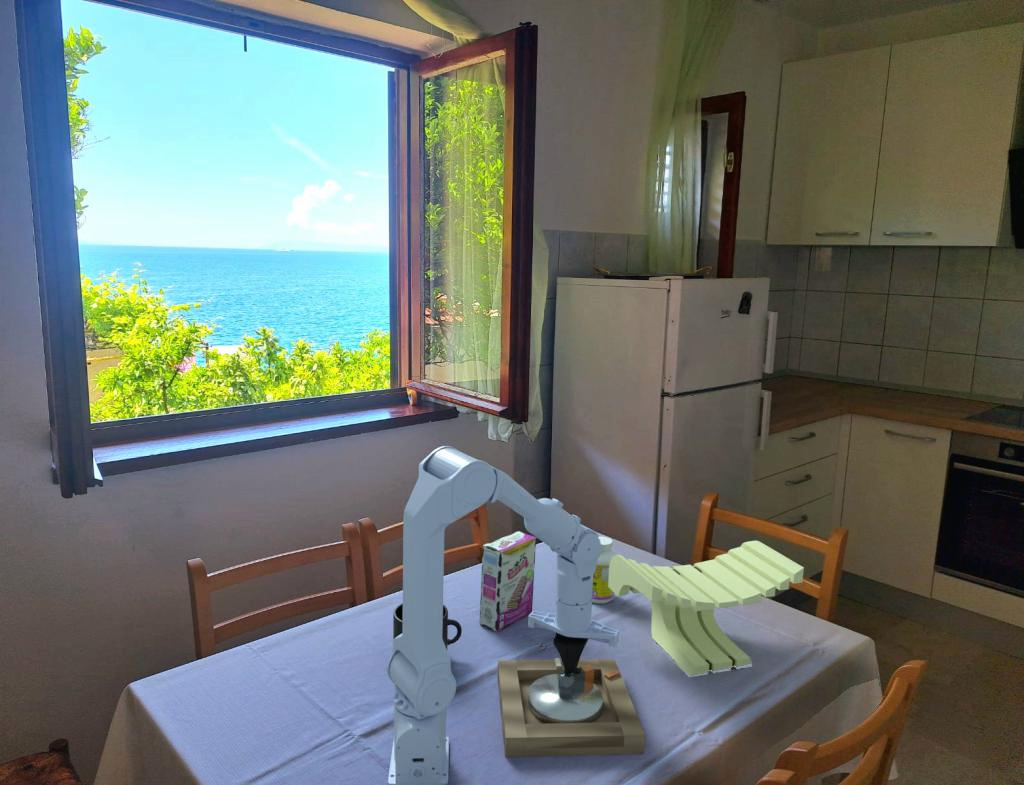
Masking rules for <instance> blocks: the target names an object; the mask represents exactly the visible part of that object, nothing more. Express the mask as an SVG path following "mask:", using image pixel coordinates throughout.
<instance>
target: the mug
mask: <svg viewBox="0 0 1024 785" xmlns="http://www.w3.org/2000/svg"><path fill="white" fill-rule="evenodd" d="M392 616H393V621H392V622H393V623H392V624H393V629H392V630H393V634H392V635H393V636H392V639H393V640H394V639H395V638H396V637H397V636H399V635H400V634H402V629H403V602H402V603H401V604H399V605H397V606H396V607H395V609H394V610H393V615H392ZM449 626H453V627H455V628H456V634H455V636H454V637H453V638H449V637H448V636H449V634H448V631H449V629H448V628H449ZM462 632H463V629H462V625H461V624H460V622H458V621H457V620H456V619H450V618H449V611H448V607H447V606H446V605H445V604H443V630H442V638H443V642H444V644H445V647H446V649H447V650H448V646H450V645H452V644H454V643H457V642H458V641H459V640H460V638H461V636H462ZM393 640H392V641H393Z"/></svg>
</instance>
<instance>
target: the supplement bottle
mask: <svg viewBox="0 0 1024 785" xmlns="http://www.w3.org/2000/svg"><path fill="white" fill-rule="evenodd" d="M598 536H599V535H598ZM598 538H599V539H600V543H601V544H603V549H602V553H601V555H600V557H599V559H598V560H597V563H596V571H595V572H594V574H593V591H592V604H599V605H600V604H602V605H603V604H607V603H610V602H612V601H613V600H614V598H615V593H614V592H613V591H612V590H611V589H610V588H609V587H608V579H609V565H610V561H611V558H612V557H613V556H614V555H617V554H616V553H615V552H614V551H613V550H612V549H613V547H614V546H613V545H614V544H613V542H614V541H613V539H612V538H610V537H607V536H599V537H598Z"/></svg>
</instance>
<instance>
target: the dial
mask: <svg viewBox="0 0 1024 785" xmlns="http://www.w3.org/2000/svg"><path fill="white" fill-rule="evenodd" d="M602 705H603V695H602V692H601V691H600V689H599V688H598V687H597V686H596V685H595V684H594V668H593V667H592V666H591V665H589V664H588V665H585V666H582V667H579V668H576V669H573V670H570V671H567V670H564V671H561V672H559V674H552V675H547V676H544V677H541V678H539V679H537V680H536V681H535V682H533V683H532V685H531V686H530V688H529V691H528V706H529V709H530V711H531V712H532V713H533V715H534V716H536V717H537V718H538V719H540V720H541V721H543V722H545V723H547V724H553V723H592V722H594V721H595V720H596V719H598V717H599V716H600V715H601V713H602Z"/></svg>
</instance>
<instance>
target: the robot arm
mask: <svg viewBox="0 0 1024 785" xmlns="http://www.w3.org/2000/svg"><path fill="white" fill-rule="evenodd" d="M496 501H499V502H500V503H502V504H503V505H505V506H507V507H508V508H509V509H511V510H513V511H514V512H515V513H517V514H518V515H519V516H522V517H523V523H524V528H525V530H526V531H527V532H528V533H530V535H532V536H534V537H536V539H538V540H540V541H541V542H543V543H544V544H545V545H547V546H548V547H549V548H550V550H551V551H552V553H553V552H555V553H556V554H557V555H556V574H555V575H556V580H555V581H556V582H555V609H554V610H555V611H554V612H542V611H536V610H535V611H534V610H532V612H531V613H530V614H529V615H527V616H528V617H527V619H528V620H527V621H528V622H527V627H528V628H531V629H535V628H536V627H537V628H541V629H545V630H550V631H552V632H555V636H554V638H553V640H552V641H553V642H552V643H553V646H554V647H555V649H556V650H557V653H558V655H559V658H560V660H562V663H563V666H564V670H567V671H570V670H573V669H576V668H577V666H578V662H579V660H580V658H581V656H582V655H583V654H582V653H583V652H584V649H585V647H586V645H587V644H588V642H589V640H593V641H596V642H601V643H605V644H608V646H609V647H611V648H616V646H617V645H618V644H619V638H620V636H619V635H620V630H619V629H616V628H615V629H614V628H612V627H609V626H607V625H605V624H602V623H601V622H598V621H596V620H593V619H592V608H593V607H592V606H593V603H592V591H593V574H594V572H595V571H596V563H597V560H598V559H599V557H600V555H601V553H602V549H603V544H601V543H600V539H599V538H598V537H599V534H598V533H597V532H596V531H595V530H593V529H591V528H589V527H587V526H585V525H583V524H582V523H581V521H582V520H581V518H580V517H579V516H578V515H575V514H570V513H569V512H567V511H566V510H565V509H564V508H563V506H564V503H562V502H561V501H560V500H558V499H556V498H554V497H553V498H552V499H551V498H547V497H543V498H536V497H534V495H532V494H531V493H530V492H528V491H527V490H526V489H525V488H523V486H522V485H520V484H519V483H518V482H517V481H515V479H513V478H512V477H510V475H508V474H507V473H506V472H504V471H503V470H501V469H498V468H496V467H494V466H492V465H490V464H489V463H488V462H486V461H484V460H481V459H477V458H475V457H473V456H470V455H468V454H466V453H464V452H461V451H459V449H458V448H456V447H453V446H452V445H451V446H450V445H443V446H439V447H437V448H435V449H434V450H433V451H432V452H431V453H429V454H428V455H427V456H426V457H425V458H423V460H422V461H421V462H420V463H419V464H418V478H417V480H416V483H415V485H414V486H413V489H412V491H411V493H410V496H409V499H408V500H407V503H406V505H405V508H404V510H403V519H402V520H403V526H402V528H403V530H402V532H403V534H402V537H403V538H402V544H403V545H402V549H403V550H402V556H403V557H402V603H403V629H402V634H400V635H399V636H397V637H396V638H395V639H394V640H392V649H391V654H390V656H389V658H388V661H387V664H386V672H387V677H388V679H389V680H390V681H391V682H392V683H393V684H394V698H393V699H394V700H393V703H394V705H393V708H394V710H393V712H394V714H393V721H394V722H393V727H394V728H393V733H394V734H393V740H392V741H393V742H392V748H391V755H390V762H389V771H388V775H387V776H388V778H387V785H448V783H449V763H450V762H449V758H450V756H449V755H450V754H449V752H450V750H449V749H450V746H449V745H450V738H449V736H447V714H448V713H447V712H448V711H447V710H448V707H449V706H450V704H451V703H452V701H453V700H454V697H455V696H456V695H455V694H456V691H457V681H456V678H455V676H454V674H453V673H452V667H451V666H452V664H451V663H452V662H451V658H450V653H449V651H448V648H447V649H446V647H445V644H444V642H443V638H442V630H443V605H444V576H445V575H444V572H445V570H444V568H445V566H444V565H445V529H446V528H447V527H448V526H450V524H453V523H455V522H457V521H458V520H460V519H461V518H463V517H465V516H467V515H469V514H470V513H471V512H472V513H473V511H474V510H476V509H478V508H480V507H482V506H483V505H484V504H485V503H487V502H489V503H492V504H493V503H495V502H496Z"/></svg>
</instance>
